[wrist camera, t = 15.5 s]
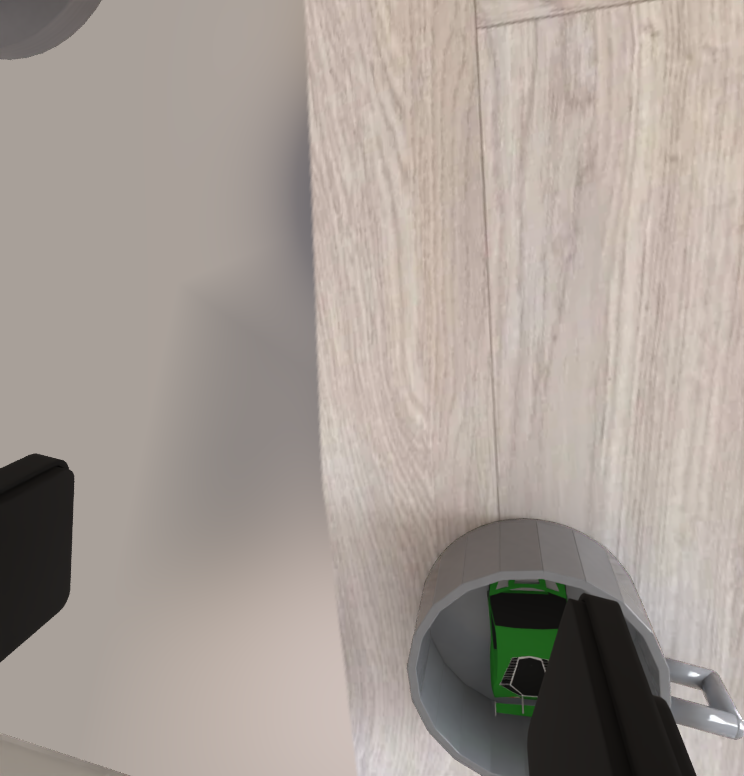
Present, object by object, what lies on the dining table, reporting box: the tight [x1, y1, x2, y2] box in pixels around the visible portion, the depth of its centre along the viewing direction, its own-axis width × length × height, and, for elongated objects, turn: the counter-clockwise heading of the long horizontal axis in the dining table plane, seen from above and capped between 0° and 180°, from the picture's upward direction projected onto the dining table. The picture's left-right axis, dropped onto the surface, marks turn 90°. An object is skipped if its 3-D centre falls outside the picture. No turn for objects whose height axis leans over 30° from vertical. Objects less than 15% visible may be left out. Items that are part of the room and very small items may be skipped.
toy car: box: [487, 579, 568, 717], centre depth 34 cm, size 10×5×2 cm, turn 5°
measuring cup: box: [407, 519, 744, 776], centre depth 33 cm, size 17×13×6 cm
